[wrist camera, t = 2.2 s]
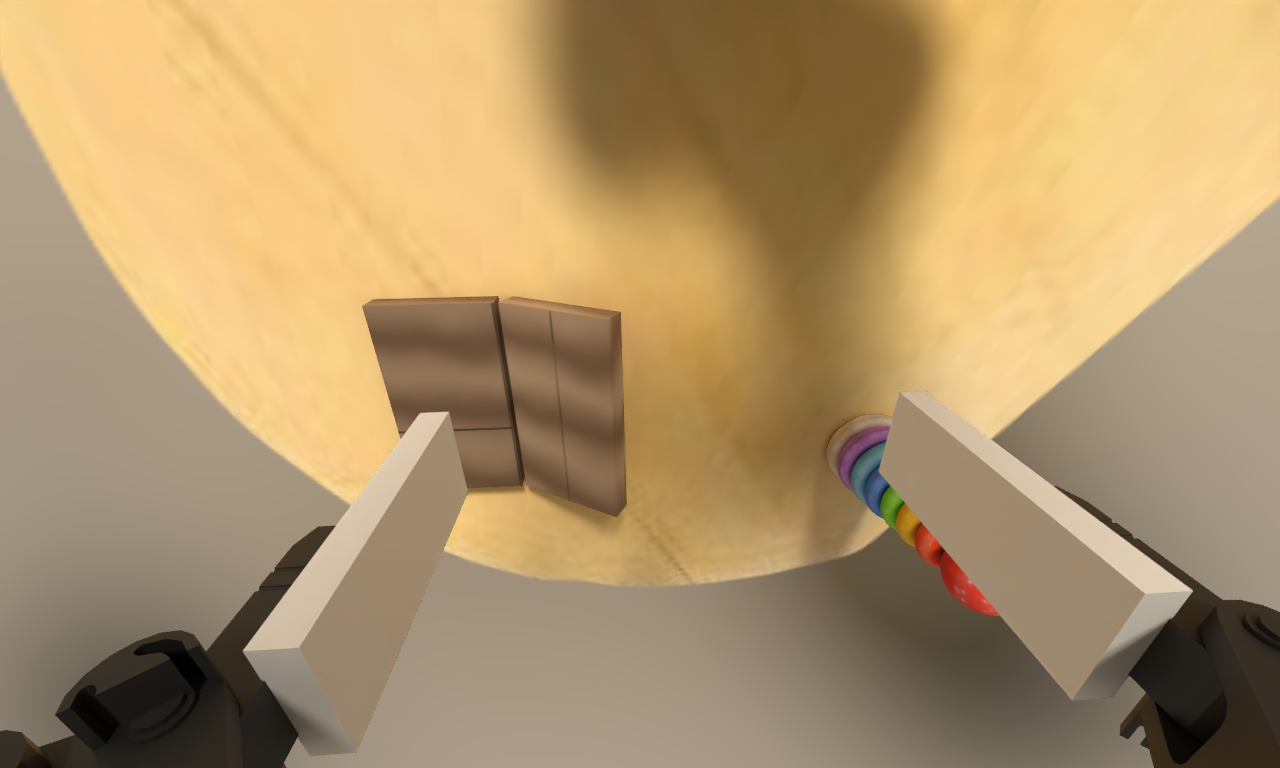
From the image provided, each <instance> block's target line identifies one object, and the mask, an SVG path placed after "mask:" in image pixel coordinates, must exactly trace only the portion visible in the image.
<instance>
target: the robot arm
mask: <svg viewBox="0 0 1280 768" xmlns="http://www.w3.org/2000/svg"><path fill="white" fill-rule="evenodd" d="M878 472H879V473H880V474H881V475H882V476H883V477H884V479H885V480H886V481H887V482H888V483H889V485H890V486H891V487H892V488H893V489H894V490H895V492H896V493H897V494H898V495H899V496H900V498H901V499H902V500H903V501H904V502H905V503H906V505H907V506H908V507H909V508H910V509H911V510H912V512H913V513H914V514H915V515H916V516H917V518H918V519H919V520H920V521H921V522H922V523H923V525H924V526H925V527H926V528H927V529H928V531H929V532H930V533H931V534H932V535H933V536H934V538H935V539H936V540H937V541H938V542H939V544H940V545H941V546H942V547H943V548H944V549H945V551H946V552H947V553H948V554H949V555H950V557H951V558H952V559H953V560H954V561H955V562H956V564H957V565H958V566H959V567H960V568H961V570H962V571H963V572H964V573H965V574H966V575H967V577H968V578H969V579H970V580H971V581H972V583H973V584H974V585H975V586H976V587H977V588H978V590H979V591H980V592H981V593H982V594H983V596H984V597H985V598H986V599H987V600H988V601H989V603H990V604H991V605H992V606H993V607H994V609H995V610H996V611H997V612H998V613H999V614H1000V616H1001V617H1002V618H1003V619H1004V620H1005V621H1006V623H1007V624H1008V625H1009V626H1010V627H1011V628H1012V630H1013V631H1014V632H1015V633H1016V635H1017V636H1018V637H1019V638H1020V639H1021V640H1022V642H1023V643H1024V644H1025V645H1026V646H1027V648H1028V649H1029V650H1030V651H1031V652H1032V653H1033V655H1034V656H1035V657H1036V658H1037V659H1038V660H1039V662H1040V663H1041V664H1042V665H1043V666H1044V668H1045V669H1046V670H1047V671H1048V672H1049V673H1050V675H1051V676H1052V677H1053V678H1054V679H1055V681H1056V682H1057V683H1058V684H1059V685H1060V687H1061V688H1062V689H1063V690H1064V691H1065V692H1066V694H1067V695H1068V696H1069V697H1070V698H1071V700H1082V699H1094V698H1108V697H1114V695H1115V694H1116V692H1117V691H1118V690H1119V689H1120V687H1121V686H1122V685H1123V683H1124V682H1125V680H1126V679H1127V678H1128V677H1129V675H1130V676H1131V677H1132V678H1133V679H1134V680H1135V681H1136V682H1137V683H1138V684H1139V685H1140V686H1141V687H1142V688H1143V689H1144V690H1145V691H1146V694H1145V695H1144V696H1143V697H1142V699H1141V700H1140V701H1139V702H1138V704H1137V705H1136V706H1135V707H1134V709H1133V710H1132V711H1131V713H1130V714H1129V715H1128V716H1127V717H1126V719H1125V720H1124V721H1123V722H1122V724H1121V725H1120V735H1121V736H1123V737H1125V738H1127V739H1129V737H1130V736H1131V735H1132V734H1133V733H1134V732H1135V730H1136V729H1137V728H1138V727H1139V726H1144V730H1145V734H1146V737H1145V738H1144V739H1143V741H1142V742H1141V745H1142V746H1144V747H1146V748H1148V749H1149V750H1150V754H1151V758H1152V762H1153V765H1154V768H1280V612H1278V611H1276V610H1273V609H1271V608H1268V607H1266V606H1263V605H1259V604H1255V603H1251V602H1247V601H1243V600H1222V599H1221V598H1219V597H1218V596H1216V595H1215V594H1214V593H1212V592H1211V591H1209V590H1208V589H1207V588H1205V587H1204V586H1203V585H1201V584H1200V583H1198V582H1197V581H1196V580H1194V579H1193V578H1192V577H1190V576H1189V575H1188V574H1186V573H1185V572H1183V571H1182V570H1180V569H1179V568H1178V567H1176V566H1175V565H1174V564H1172V563H1171V562H1169V561H1168V560H1167V559H1165V558H1164V557H1163V556H1161V555H1160V554H1158V553H1157V552H1156V551H1154V550H1153V549H1151V548H1150V547H1149V546H1148V545H1146V544H1145V543H1143V542H1142V541H1141V540H1139V539H1134V538H1133V536H1132V534H1131V533H1130V532H1128V531H1127V530H1126V529H1124V528H1123V527H1121V526H1120V525H1119V524H1117V523H1112V521H1111V519H1110V518H1109V517H1108V516H1106V515H1105V514H1103V513H1102V512H1101V511H1099V510H1098V509H1096V508H1095V507H1094V506H1092V505H1091V504H1090V503H1088V502H1087V501H1085V500H1083V499H1081V498H1079V497H1077V496H1075V495H1073V494H1071V493H1069V492H1067V491H1065V490H1063V489H1061V488H1059V487H1057V486H1052V485H1051V484H1050V483H1048V482H1047V481H1046V480H1044V479H1043V478H1041V477H1040V476H1039V475H1038V474H1036V473H1035V472H1033V471H1032V470H1031V469H1029V468H1028V467H1027V466H1025V465H1024V464H1023V463H1021V462H1020V461H1018V460H1017V459H1016V458H1015V457H1013V456H1012V455H1011V454H1009V453H1008V452H1007V451H1005V450H1004V449H1003V448H1001V447H1000V446H999V445H997V444H996V443H995V442H993V441H992V440H991V439H989V438H988V437H987V436H985V435H984V434H983V433H981V432H980V431H979V430H977V429H976V428H975V427H973V426H972V425H971V424H969V423H968V422H967V421H965V420H964V419H963V418H961V417H960V416H959V415H957V414H956V413H955V412H953V411H952V410H951V409H949V408H948V407H947V406H945V405H944V404H943V403H941V402H940V401H939V400H937V399H936V398H935V397H933V396H932V395H930V394H929V393H928V392H926V391H916V392H899V396H898V400H897V403H896V407H895V411H894V415H893V418H892V422H891V426H890V430H889V433H888V437H887V441H886V445H885V449H884V452H883V456H882V460H881V464H880V467H879V471H878ZM467 493H468V490H467V486H466V482H465V477H464V473H463V469H462V465H461V460H460V456H459V452H458V448H457V444H456V439H455V435H454V431H453V427H452V422H451V418H450V414H449V412H431V413H420V414H419V415H418V416H417V418H416V419H415V421H414V422H413V423H412V425H411V426H410V427H409V429H408V430H407V431H406V433H405V434H404V435H403V437H402V438H401V439H400V441H399V442H398V443H397V445H396V446H395V447H394V449H393V450H392V451H391V453H390V454H389V455H388V457H387V458H386V459H385V461H384V462H383V463H382V465H381V466H380V467H379V469H378V470H377V472H376V473H375V474H374V476H373V477H372V478H371V480H370V481H369V482H368V484H367V485H366V486H365V488H364V489H363V490H362V492H361V493H360V494H359V496H358V497H357V498H356V500H355V501H354V502H353V504H352V505H351V506H350V508H349V509H348V511H347V512H346V513H345V515H344V516H343V517H342V518H341V520H340V521H339V523H338V524H337V525H336V526H322V527H317V528H316V529H314V530H313V531H312V532H310V533H309V534H308V535H306V536H305V537H304V538H303V539H301V540H300V541H299V542H297V543H296V544H295V545H293V546H292V547H291V549H290V550H289V551H288V552H287V553H286V555H285V556H284V557H283V558H282V559H281V561H280V562H279V563H278V564H277V566H276V567H275V571H274V572H272V573H270V574H269V576H268V577H267V578H266V579H265V580H264V581H263V583H262V584H261V585H260V586H259V591H256V592H254V594H253V595H252V596H251V598H250V599H249V600H248V601H247V602H246V604H245V605H244V606H243V607H242V608H241V610H240V611H239V612H238V613H237V614H236V616H235V617H234V618H233V619H232V621H231V622H230V623H229V624H228V626H227V627H226V628H225V629H224V630H223V632H222V633H221V634H220V635H219V636H218V638H217V639H216V640H215V642H214V643H213V644H212V645H211V646H210V648H209V649H208V650H207V651H205V650H204V648H203V647H202V645H201V644H200V643H199V641H198V640H197V638H196V637H195V635H194V634H190V633H187V632H184V631H171V632H163V633H159V634H156V635H153V636H151V637H148V638H145V639H142V640H139V641H136V642H135V643H133V644H131V645H129V646H127V647H125V648H124V649H122V650H120V651H118V652H117V653H114V654H113V655H111V656H109V657H108V658H107V659H105V660H104V661H103V662H101V663H100V664H99V665H97V666H96V667H95V668H93V669H92V670H91V671H89V672H88V673H87V674H85V675H84V676H83V677H82V678H81V679H80V680H79V682H78V683H77V684H76V685H75V686H74V687H73V688H72V689H71V690H70V691H69V692H68V693H67V694H66V695H65V697H64V699H63V701H62V703H61V705H60V707H59V709H58V711H57V712H56V714H55V715H56V716H57V717H58V718H59V719H60V720H61V721H62V722H63V723H64V724H65V725H66V726H67V727H68V728H69V729H70V730H71V731H72V732H73V733H74V734H75V735H74V736H71V737H68V738H65V739H62V740H59V741H56V742H53V743H50V744H47V745H44V746H41V747H38V746H36V745H35V744H34V743H33V742H32V741H31V740H30V739H28V738H27V737H26V736H25V735H24V734H23V733H22V732H15V731H8V730H4V731H0V768H286V766H285V764H284V761H285V759H286V757H287V756H288V754H289V752H290V750H291V748H292V746H293V745H294V743H295V741H296V739H297V737H298V738H299V740H300V741H301V743H302V745H303V746H304V747H305V749H306V751H307V752H308V754H309V755H310V756H316V755H330V754H343V753H357V751H358V749H359V746H360V744H361V741H362V739H363V737H364V735H365V732H366V730H367V728H368V725H369V723H370V721H371V718H372V716H373V714H374V711H375V709H376V706H377V704H378V702H379V699H380V697H381V695H382V692H383V690H384V688H385V685H386V683H387V681H388V678H389V676H390V674H391V671H392V669H393V667H394V664H395V662H396V660H397V657H398V655H399V653H400V650H401V648H402V646H403V643H404V641H405V639H406V636H407V634H408V632H409V629H410V627H411V625H412V622H413V620H414V618H415V615H416V612H417V611H418V608H419V606H420V604H421V601H422V599H423V596H424V594H425V592H426V589H427V587H428V585H429V582H430V580H431V578H432V575H433V573H434V571H435V568H436V566H437V563H438V561H439V559H440V557H441V554H442V552H443V550H444V547H445V545H446V543H447V540H448V538H449V536H450V533H451V531H452V529H453V526H454V524H455V522H456V519H457V517H458V514H459V512H460V510H461V507H462V505H463V503H464V500H465V498H466V496H467Z"/></svg>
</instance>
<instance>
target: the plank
mask: <svg viewBox="0 0 1280 768" xmlns="http://www.w3.org/2000/svg"><path fill="white" fill-rule="evenodd" d="M498 305H499V311H500V318H501V324H502V331H503V337H504V344H505V350H506V357H507V364H508V370H509V377H510V383H511V390H512V396H513V403H514V409H515V416H516V422H517V429H518V435H519V442H520V448H521V455H522V461H523V468H524V474H525V481H526V485H528V486H531V487H534V488H537V489H539V490H542V491H545V492H548V493H551V494H553V495H556V496H559V497H562V498H565V499H567V500H569V501H573V502H576V503H579V504H581V505H584V506H587V507H590V508H593V509H595V510H598V511H601V512H604V513H607V514H609V515H612V516H615V517H617V516H618V515H619V514H620V512H621V511H622V510H623V509H624V507H625V506H626V505H627V500H626V468H625V436H624V403H623V371H622V339H621V312H616V311H609V310H602V309H596V308H589V307H582V306H575V305H568V304H562V303H555V302H548V301H541V300H534V299H527V298H521V297H514V296H513V297H511V298H508V299H505V300H503V301H500V302H498Z"/></svg>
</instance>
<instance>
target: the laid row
mask: <svg viewBox="0 0 1280 768" xmlns="http://www.w3.org/2000/svg"><path fill="white" fill-rule="evenodd" d="M498 302H499V298H498V296H492V297H453V298H414V299H376V300H371V301H370V302H368V303H367V304H365V305H363V306H362V307H363V311H364V314H365V317H366V321H367V324H368V328H369V331H370V335H371V338H372V342H373V345H374V348H375V352H376V355H377V359H378V362H379V366H380V369H381V372H382V376H383V379H384V383H385V386H386V390H387V393H388V397H389V400H390V403H391V407H392V410H393V414H394V417H395V421H396V424H397V427H398V431H399V434H400V438H402V437H403V435H404V434H405V433H406V431H407V430H408V429H409V427H410V426H411V425H412V423H413V422H414V421H415V419H416V418H417V416H418V415H419V414H420V413H431V412H449V414H450V418H451V422H452V427H453V431H454V435H455V439H456V444H457V448H458V452H459V456H460V460H461V465H462V469H463V473H464V477H465V482H466V486H467V488H477V487H500V486H522V484H523V481H524V477H525V474H524V468H523V461H522V455H521V448H520V442H519V435H518V429H517V422H516V416H515V409H514V403H513V396H512V390H511V383H510V377H509V370H508V364H507V357H506V350H505V344H504V337H503V331H502V324H501V318H500V311H499V305H498Z"/></svg>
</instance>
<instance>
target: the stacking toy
mask: <svg viewBox="0 0 1280 768" xmlns="http://www.w3.org/2000/svg"><path fill="white" fill-rule="evenodd" d="M891 422H892V418H891V417H888V416H885V415H879V414H869V415H864V416H860V417H857V418H855V419H853V420H851V421H849V422H847V423H846V424H844V425H843V426H842V427H841V428H839V429H838V430H837V431H836V433H835V434H834V435H833V436H832V438H831V440H830V442H829V444H828V447H827V454H826V456H827V463H828V466H829V468H830V470H831V471H832V472H833V474H834V475H835V476H836V477H838V478H839V479H841V481H842V482H843V484H844V485H845V486H846V487H847V488H849V489H850V490H852V491H853V492H854V493H855V494H856V496H857V497H858V498H859V499H860V500H861V501H862V502H864V503H866V504H867V505H868V507H869V508H870V510H871V511H872V512H873V513H875V514H876V515H877V516H879V517H881V518H883V519H884V520H885V522H886V523H887V524H888V525H889V526H890V527H892V528H893V529H894V530H896V531H898V533H899V535H900V537H901V538H902V539H903V540H904V541H905V542H906V543H907V544H909V545H911V546H913V547H916V550H917V552H918V554H919V555H920V557H921V558H922V559H923V560H924V561H926V562H927V563H928V564H930V565H932V566H935V567H939V568H940V570H941V575H942V579H943V581H944V584H945V585H946V587H947V589H948V590H949V592H950V593H951V594H952V595H953V596H954V597H955V598H956V599H957V600H958V601H959V602H960V603H962V604H963V605H964V606H966V607H968V608H970V609H971V610H974V611H976V612H979V613H982V614H986V615H995V616H996V615H997V616H999V615H1000V614H999V613H998V612H997V611H996V610H995V609H994V607H993V606H992V605H991V604H990V603H989V601H988V600H987V599H986V598H985V597H984V596H983V594H982V593H981V592H980V591H979V590H978V588H977V587H976V586H975V585H974V584H973V583H972V581H971V580H970V579H969V578H968V577H967V575H966V574H965V573H964V572H963V571H962V570H961V568H960V567H959V566H958V565H957V564H956V562H955V561H954V560H953V559H952V558H951V557H950V555H949V554H948V553H947V552H946V551H945V549H944V548H943V547H942V546H941V545H940V544H939V542H938V541H937V540H936V539H935V538H934V536H933V535H932V534H931V533H930V532H929V531H928V529H927V528H926V527H925V526H924V525H923V523H922V522H921V521H920V520H919V519H918V518H917V516H916V515H915V514H914V513H913V512H912V510H911V509H910V508H909V507H908V506H907V505H906V503H905V502H904V501H903V500H902V499H901V498H900V496H899V495H898V494H897V493H896V492H895V490H894V489H893V488H892V487H891V486H890V485H889V483H888V482H887V481H886V480H885V479H884V477H883V476H882V475H881V474H880V473H879V472H878V471H879V467H880V464H881V460H882V456H883V452H884V449H885V445H886V441H887V437H888V433H889V430H890V426H891Z"/></svg>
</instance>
